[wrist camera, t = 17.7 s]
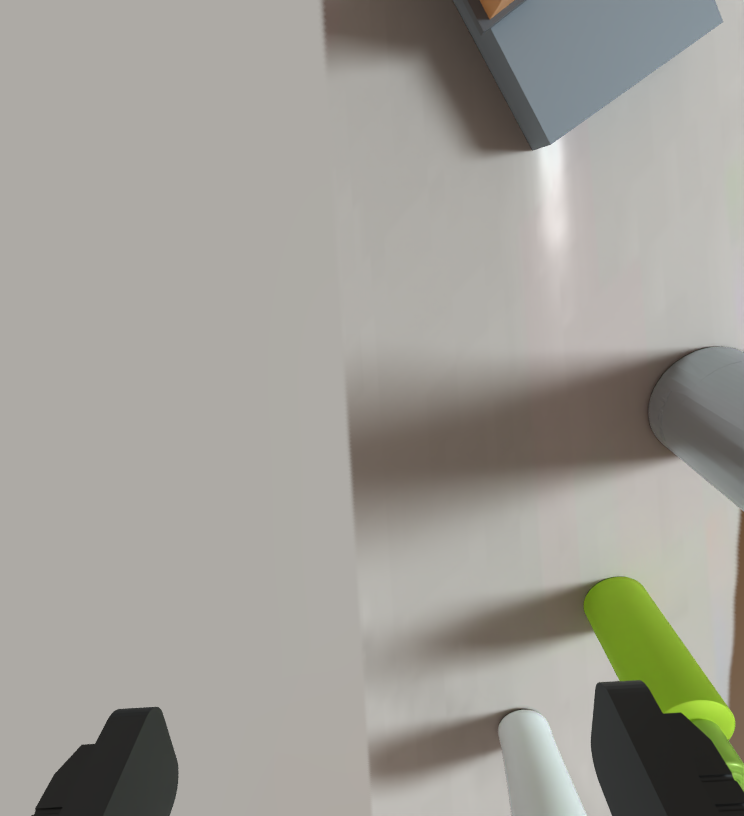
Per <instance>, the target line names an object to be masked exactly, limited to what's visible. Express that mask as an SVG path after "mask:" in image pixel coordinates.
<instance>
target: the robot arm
mask: <svg viewBox="0 0 744 816" xmlns="http://www.w3.org/2000/svg"><path fill="white" fill-rule="evenodd" d="M649 422H650V425H651V429H652V430H653V432H654V434H655V436H656V437H657V438H658V439H659V441H660V442H661V443H662V444H663V445H665V446H666V447H667V448H668V449H669V450H671V451H672V452H673V453H674V454H675V455H677V456H678V457H679V458H680V459H681V460H683V461H684V462H685V463H686V464H687V465H688V466H689V467H691V468H692V469H693V470H694V471H696V472H697V473H698V474H699V475H700V476H702V477H703V478H704V479H705V480H706V481H708V482H709V483H710V484H711V485H712V486H714V487H715V488H716V489H717V490H719V491H720V492H721V493H722V494H723V495H725V496H726V497H727V498H728V499H729V500H731V501H732V502H733V503H734V504H735V505H737V506H738V507H739V508H740V509H741V510H743V511H744V352H743V351H740V350H738V349H735V348H730V347H723V346H721V347H709V348H705V349H701V350H697V351H695V352H693V353H691V354H689V355H686V356H684V357H683V358H681V359H680V360H679V361H677V362H676V363H674V364H673V365H672V366H671V367H670V368H669V369H668V370H667V371H666V372H665V373H664V374H663V375H662V377H661V378H660V380H659V381H658V382H657V384H656V386H655V388H654V390H653V392H652V395H651V398H650V403H649ZM591 751H592V758H593V763H594V767H595V771H596V774H597V777H598V780H599V783H600V786H601V788H602V791H603V793H604V796H605V798H606V801H607V804H608V806H609V809H610V811H611V814H612V816H744V791H743V790H742V788H741V787H740V785H739V783H738V782H737V781H735V780H734V778H733V776H732V772H731V771H730V769H729V767H728V766H727V764H726V763H725V761H724V760H723V758H722V756H721V755H720V753H719V752H718V750H717V748H716V747H715V745H714V744H713V742H712V740H711V739H710V738H709V737H707V736H706V735H705V734H704V733H703V732H702V731H701V730H700V729H699V728H698V727H697V726H695V725H694V724H693V723H692V722H691V721H690V720H689V719H688V718H687V717H686V716H685V715H683V714H682V713H681V712H680V713H662V711H661V709H660V707H659V706H658V704H657V702H656V700H655V699H654V697H653V695H652V693H651V692H650V690H649V688H648V687H647V686H646V684H645V683H644V682H643V681H641V680H632V681H615V682H599V683H597V685H596V689H595V699H594V710H593V721H592V732H591ZM177 784H178V763H177V758H176V755H175V752H174V749H173V745H172V742H171V739H170V736H169V733H168V729H167V726H166V722H165V719H164V716H163V713H162V711H161V709H160V708H159V707H146V708H129V709H118V710H116V711H114V712H113V713H112V714H111V716H110V717H109V718H108V720H107V722H106V724H105V726H104V728H103V730H102V732H101V734H100V736H99V738H98V739H97V741H96V743H95V744H87V745H81V746H80V747H79V748H78V749H77V751H76V752H75V753H74V754H73V755H72V756H71V757H70V758H69V759H68V760H67V761H66V762H65V763H64V765H63V766H62V767H61V768H60V769H59V770H58V771H57V772H56V773H55V774H54V776H53V778H52V780H51V781H50V783H49V785H48V787H47V788H46V790H45V792H44V794H43V796H42V798H41V799H40V801H39V803H38V805H37V806H36V808H35V809H36V811H35V814H34V815H32V816H169V815H170V813H171V810H172V807H173V804H174V800H175V796H176V791H177V786H178V785H177Z"/></svg>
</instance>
